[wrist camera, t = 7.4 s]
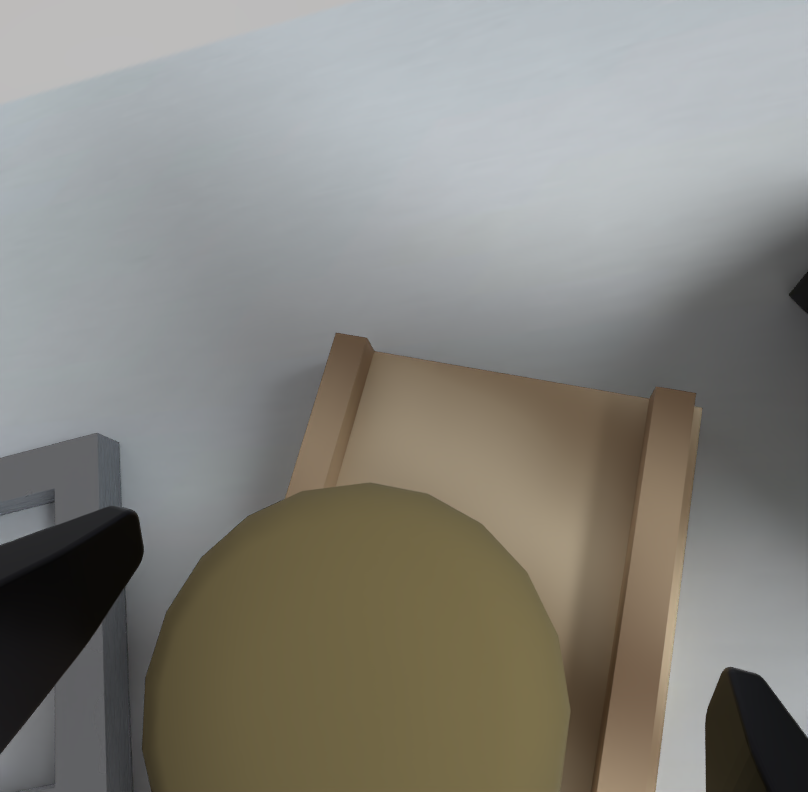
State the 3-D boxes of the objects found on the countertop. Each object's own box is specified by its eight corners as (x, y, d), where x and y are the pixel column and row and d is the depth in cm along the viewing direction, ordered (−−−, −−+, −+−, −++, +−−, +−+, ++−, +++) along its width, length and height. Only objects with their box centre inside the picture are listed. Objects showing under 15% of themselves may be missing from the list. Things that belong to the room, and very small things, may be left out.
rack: (606, 1094, 14) (620, 1173, 12) (177, 910, 17) (129, 949, 15) (691, 420, 19) (712, 395, 17) (342, 358, 21) (323, 330, 19)
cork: (339, 534, 18) (112, 417, 8) (557, 544, 17) (615, 423, 7) (316, 776, 16) (-25, 1027, 6) (561, 805, 15) (648, 1168, 5)
